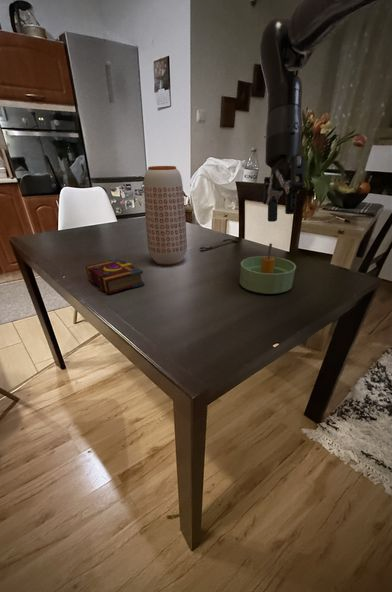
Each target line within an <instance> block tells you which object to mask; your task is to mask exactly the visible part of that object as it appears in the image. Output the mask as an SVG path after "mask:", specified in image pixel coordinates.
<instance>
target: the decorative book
mask: <svg viewBox="0 0 392 592" xmlns="http://www.w3.org/2000/svg"><path fill="white" fill-rule="evenodd" d="M85 270H86V275H87V278H88V280H89V281H90V282H91V284H92V285H96V286H98V288H99V289H100V291H101V292H103V293H106V294H108V295H111V294H114V293H118V292H121V291H125V290H128V289H131V288H133V289H134V288H138V287H141V286H144V285H145V281H142V274H144V271H143V270H142V269H141V268H138V267H135V266H133V264H132V263H130V262H126V261H125V260H124V259H122V258H120V257H117V258H112V259H108V260H107V261H102V262H98V263H94V264H89V265H85Z"/></svg>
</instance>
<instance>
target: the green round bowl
mask: <svg viewBox="0 0 392 592" xmlns="http://www.w3.org/2000/svg"><path fill="white" fill-rule="evenodd" d="M263 257H268V255H257V256H256V255H255V256H250V257H247V258H245V259H243V260H242V261H240V268H239V279H238V282H239V285H240V286H241V287H242V288H244V289H245V290H247V291H250V292H253V293H259V294H267V295H274V294H282V293H285V292H288V291H289V290H291V289H292V288H293V285H294V280H295V275H296V270H297V265H296V264H295V263H294V262H293V261H292V260H289V259H286V258H283V257H278V256H271V255H270V257H273V258H275V263H274V269H273V274H266V273H261V266H262V258H263Z"/></svg>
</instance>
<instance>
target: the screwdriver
mask: <svg viewBox="0 0 392 592" xmlns="http://www.w3.org/2000/svg"><path fill="white" fill-rule="evenodd" d="M272 247H273V243H270V242H269V244H268V253H267V256H268V257H263V258H262V266H261V273H266V274H273V269H274V263H275V258H273V257H274V256H272V257H270V256H271V254H272Z"/></svg>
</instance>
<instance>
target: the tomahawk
mask: <svg viewBox="0 0 392 592" xmlns="http://www.w3.org/2000/svg"><path fill="white" fill-rule="evenodd" d="M233 242H234V243H238V242H239V239H231V238H227V239H223V240H222V242H219V243H215V244H212V245H209V246H208V247H204V246H201V247H199V250H212V249H215V248H220V247H222V246H226V245H228V244H232V243H233Z"/></svg>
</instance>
